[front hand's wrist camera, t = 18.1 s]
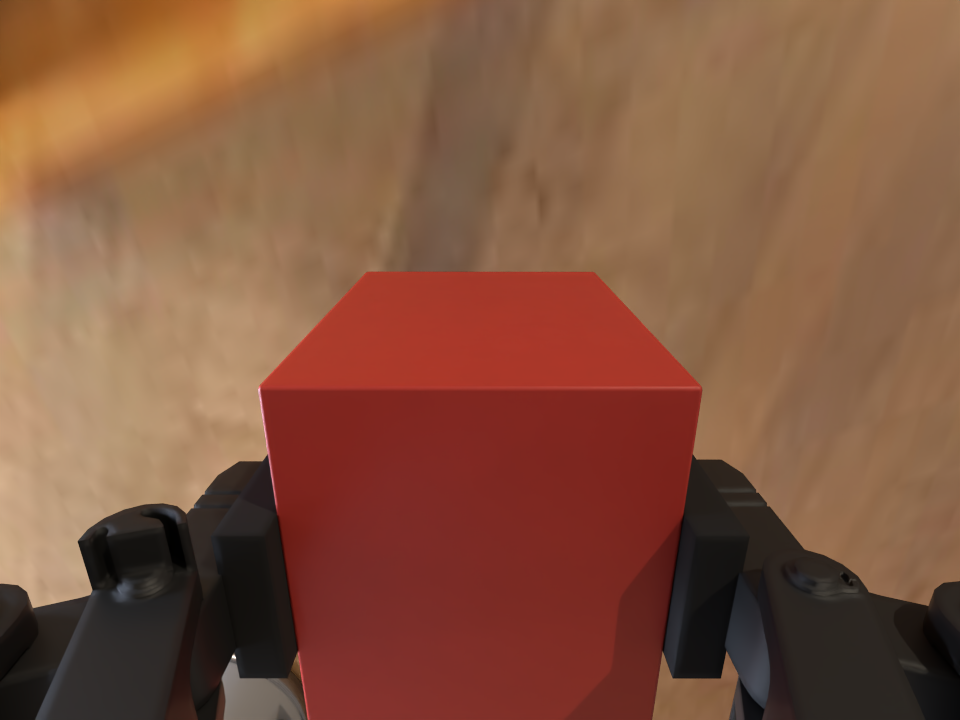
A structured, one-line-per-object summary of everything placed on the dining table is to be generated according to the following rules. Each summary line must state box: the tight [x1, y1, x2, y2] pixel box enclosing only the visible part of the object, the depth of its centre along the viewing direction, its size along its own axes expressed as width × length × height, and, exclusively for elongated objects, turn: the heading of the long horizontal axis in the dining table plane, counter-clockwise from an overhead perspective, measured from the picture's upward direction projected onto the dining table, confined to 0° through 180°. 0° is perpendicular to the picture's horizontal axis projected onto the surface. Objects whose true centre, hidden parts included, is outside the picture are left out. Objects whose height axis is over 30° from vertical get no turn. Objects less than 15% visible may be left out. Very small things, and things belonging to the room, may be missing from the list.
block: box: [258, 272, 702, 720], centre depth 12 cm, size 6×7×8 cm
